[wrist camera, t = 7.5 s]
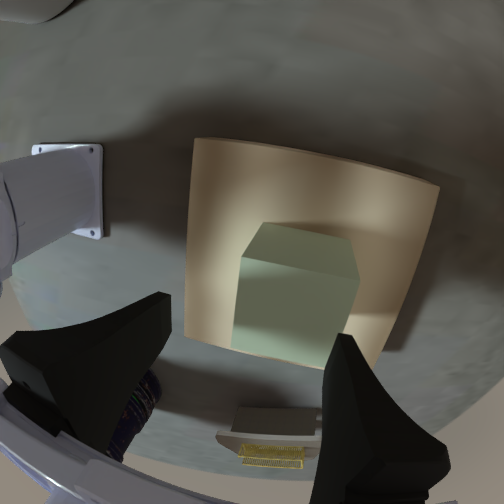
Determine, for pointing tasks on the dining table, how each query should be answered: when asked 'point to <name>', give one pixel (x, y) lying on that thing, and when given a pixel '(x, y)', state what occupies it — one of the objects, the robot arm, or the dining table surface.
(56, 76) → the dining table surface
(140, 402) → the storage jar
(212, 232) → the birch base
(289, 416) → the platform
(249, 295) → the green cube
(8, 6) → the cylinder vase
